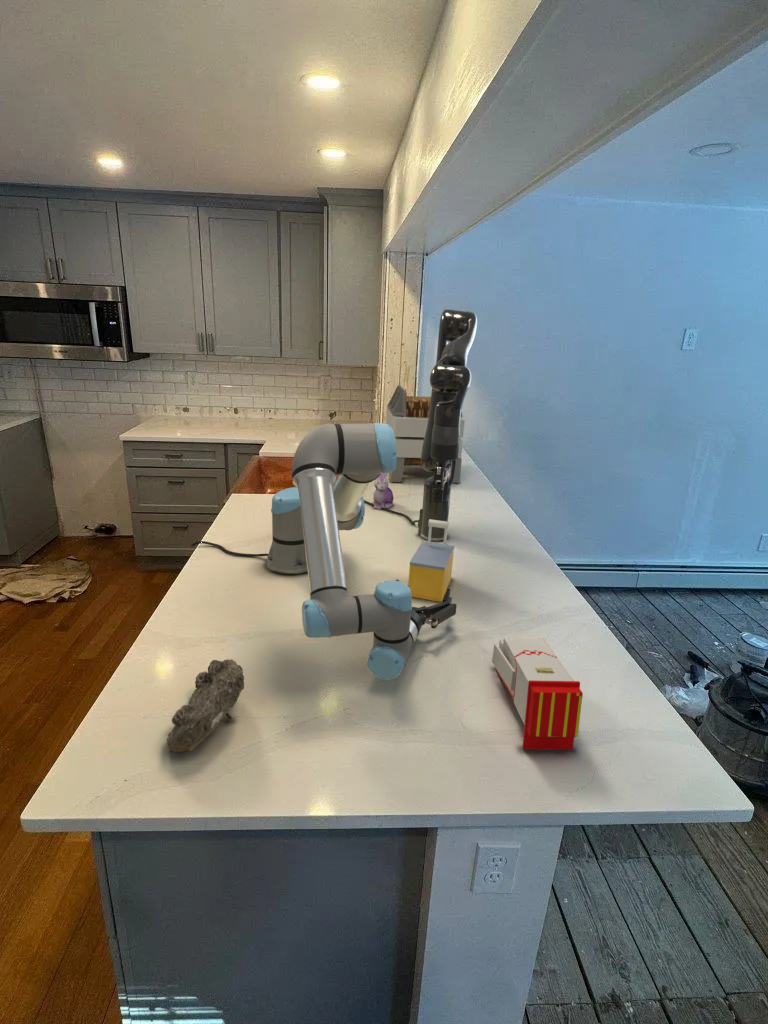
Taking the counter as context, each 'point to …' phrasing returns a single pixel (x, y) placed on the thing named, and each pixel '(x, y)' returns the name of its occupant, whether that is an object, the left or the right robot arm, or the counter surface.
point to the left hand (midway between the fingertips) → (422, 588)
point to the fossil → (206, 705)
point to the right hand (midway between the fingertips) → (440, 497)
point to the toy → (540, 692)
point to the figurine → (382, 493)
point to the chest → (430, 581)
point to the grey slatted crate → (412, 431)
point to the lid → (433, 550)
